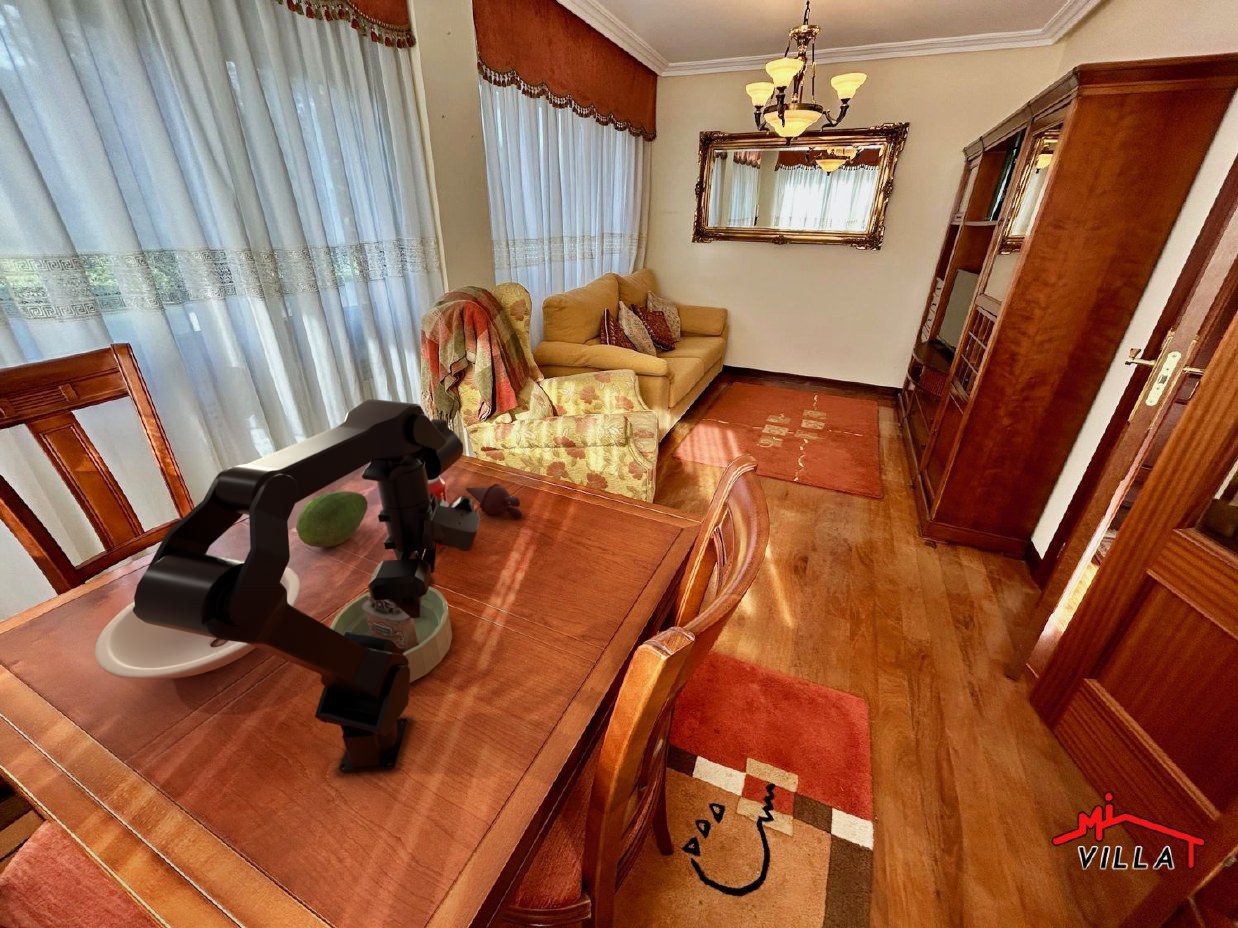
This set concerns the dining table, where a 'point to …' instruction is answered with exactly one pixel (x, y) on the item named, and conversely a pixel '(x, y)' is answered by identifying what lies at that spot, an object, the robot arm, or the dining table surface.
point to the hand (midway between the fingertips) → (423, 593)
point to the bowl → (428, 628)
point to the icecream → (496, 500)
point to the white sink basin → (168, 645)
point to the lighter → (390, 623)
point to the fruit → (331, 518)
